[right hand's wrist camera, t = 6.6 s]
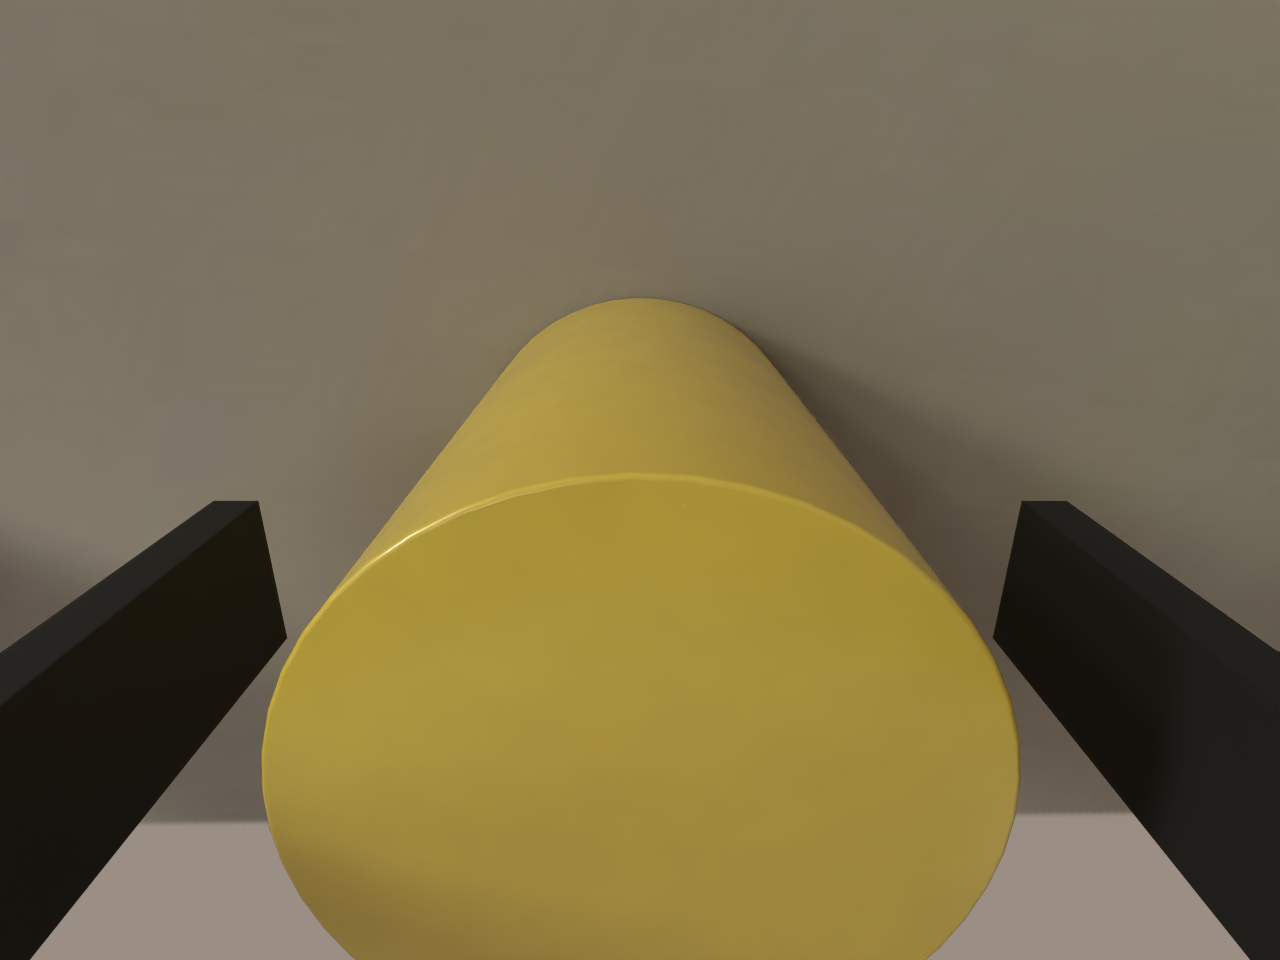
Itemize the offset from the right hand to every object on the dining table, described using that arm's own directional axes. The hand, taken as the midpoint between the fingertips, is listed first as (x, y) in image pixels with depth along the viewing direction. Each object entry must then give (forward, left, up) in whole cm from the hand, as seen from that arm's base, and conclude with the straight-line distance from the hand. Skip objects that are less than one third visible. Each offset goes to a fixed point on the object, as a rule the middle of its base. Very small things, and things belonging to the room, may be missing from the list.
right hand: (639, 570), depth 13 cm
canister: (0, 0, -6) cm, 6 cm away
